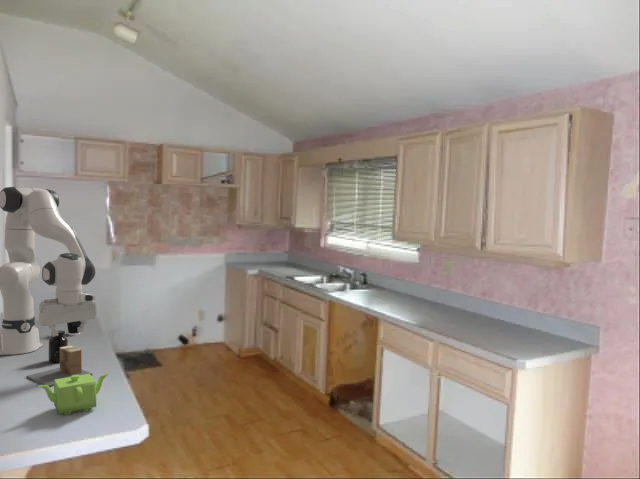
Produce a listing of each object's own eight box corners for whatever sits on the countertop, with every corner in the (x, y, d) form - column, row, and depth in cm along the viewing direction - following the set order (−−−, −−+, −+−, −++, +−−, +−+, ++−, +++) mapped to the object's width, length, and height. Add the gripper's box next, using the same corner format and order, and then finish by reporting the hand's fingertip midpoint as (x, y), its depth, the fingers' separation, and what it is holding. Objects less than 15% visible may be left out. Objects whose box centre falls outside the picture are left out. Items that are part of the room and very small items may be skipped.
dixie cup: (73, 331, 244) (72, 310, 243) (86, 332, 242) (86, 311, 242) (61, 335, 236) (61, 313, 236) (75, 336, 235) (75, 314, 234)
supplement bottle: (59, 363, 193) (59, 334, 193) (44, 362, 195) (44, 333, 194) (71, 358, 200) (71, 330, 199) (57, 357, 201) (56, 329, 201)
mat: (26, 377, 177) (26, 375, 177) (70, 366, 190) (69, 365, 190) (48, 387, 168) (48, 385, 168) (92, 375, 181) (92, 373, 181)
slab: (59, 371, 183) (59, 347, 183) (70, 368, 186) (70, 345, 186) (70, 375, 179) (70, 351, 178) (81, 372, 182) (81, 349, 181)
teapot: (37, 417, 144) (37, 381, 144) (64, 399, 158) (64, 367, 157) (87, 419, 143) (86, 384, 143) (109, 402, 157) (109, 369, 156)
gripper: (43, 301, 170) (42, 340, 171) (99, 295, 187) (98, 331, 188) (35, 299, 174) (34, 337, 175) (90, 293, 191) (89, 328, 191)
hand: (68, 333), depth 181 cm, fingers open, 8 cm apart
